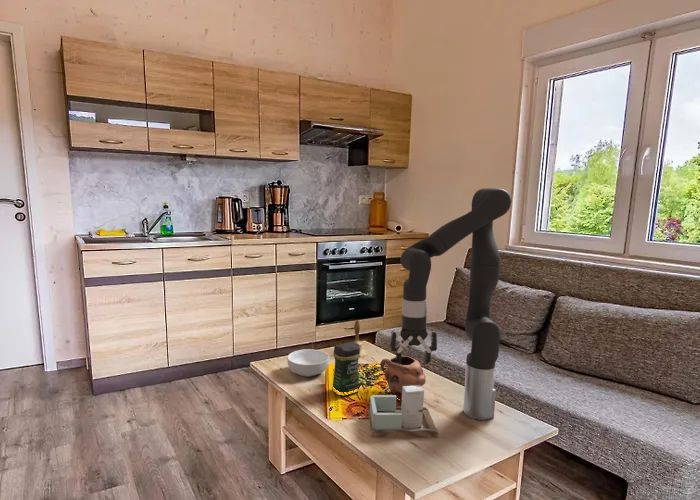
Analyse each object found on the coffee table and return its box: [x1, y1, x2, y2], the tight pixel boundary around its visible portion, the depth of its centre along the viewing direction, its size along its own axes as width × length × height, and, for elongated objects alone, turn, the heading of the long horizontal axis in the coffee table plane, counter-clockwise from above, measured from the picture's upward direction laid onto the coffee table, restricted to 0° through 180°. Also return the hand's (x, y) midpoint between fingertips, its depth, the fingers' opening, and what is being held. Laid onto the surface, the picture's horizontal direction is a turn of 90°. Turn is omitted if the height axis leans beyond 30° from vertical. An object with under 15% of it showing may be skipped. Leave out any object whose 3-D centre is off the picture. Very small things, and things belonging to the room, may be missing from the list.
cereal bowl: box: [287, 348, 330, 377], centre depth 175 cm, size 17×17×7 cm
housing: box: [369, 394, 403, 430], centre depth 136 cm, size 9×13×5 cm
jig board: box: [367, 406, 439, 439], centre depth 137 cm, size 20×15×2 cm
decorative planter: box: [380, 355, 427, 401], centre depth 156 cm, size 20×12×14 cm, turn 51°
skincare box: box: [400, 386, 425, 428], centre depth 136 cm, size 6×4×12 cm
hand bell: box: [353, 319, 367, 358], centre depth 196 cm, size 8×8×16 cm
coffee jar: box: [332, 340, 360, 393], centre depth 158 cm, size 10×8×19 cm
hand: (413, 363), depth 134 cm, fingers open, 8 cm apart
